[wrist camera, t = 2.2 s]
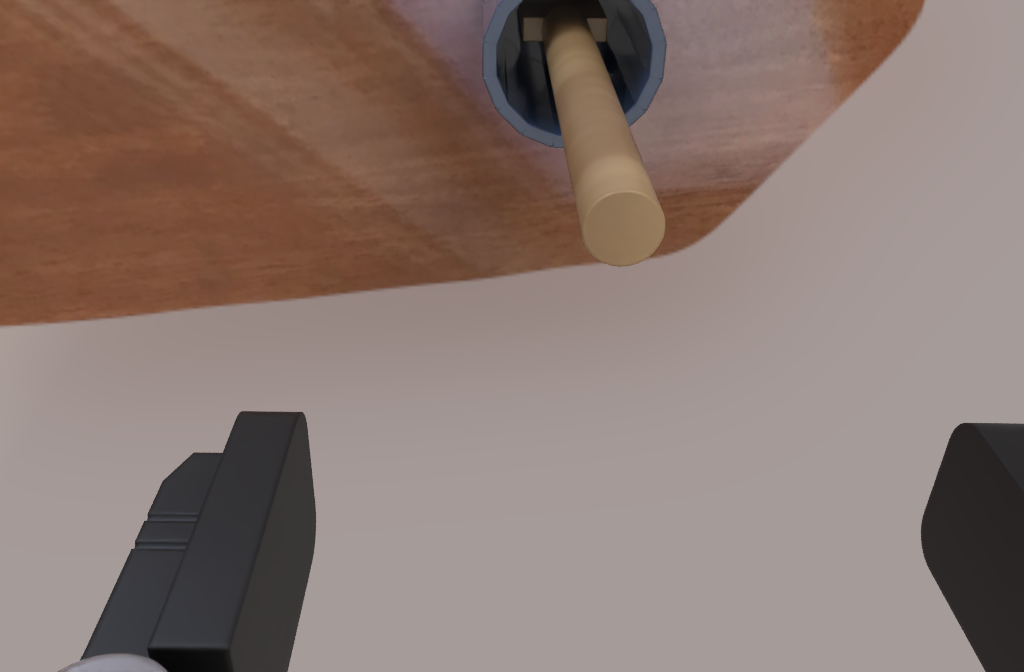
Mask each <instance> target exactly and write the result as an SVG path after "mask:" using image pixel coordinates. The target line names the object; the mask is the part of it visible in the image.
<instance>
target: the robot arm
mask: <svg viewBox="0 0 1024 672" xmlns="http://www.w3.org/2000/svg"><path fill="white" fill-rule="evenodd" d="M315 535H316V510H315V498H314V489H313V479H312V468H311V459H310V449H309V439H308V429H307V422H306V418H305V415H304V413H303V412H253V411H252V412H251V411H242V412H240V413H239V415H238V416H237V418H236V421H235V423H234V426H233V428H232V431H231V433H230V436H229V438H228V441H227V444H226V446H225V449H224V452H223V453H193V454H192V455H191V456H190V457H189V458H188V459H186V460H185V461H184V462H183V463H182V464H181V465H180V466H179V467H178V468H177V469H175V470H174V471H173V472H172V473H171V474H170V475H169V476H168V477H167V478H166V479H165V480H164V481H163V482H162V484H161V486H160V489H159V491H158V493H157V495H156V497H155V499H154V502H153V504H152V506H151V508H150V510H149V512H148V520H147V521H144V523H143V525H142V528H141V530H140V532H139V534H138V537H137V539H136V541H135V548H134V549H131V552H130V554H129V556H128V558H127V560H126V563H125V565H124V567H123V569H122V571H121V573H120V576H119V578H118V580H117V582H116V584H115V586H114V589H113V591H112V593H111V595H110V597H109V600H108V602H107V604H106V606H105V608H104V611H103V613H102V615H101V617H100V619H99V621H98V624H97V626H96V628H95V630H94V632H93V634H92V637H91V639H90V641H89V643H88V645H87V648H86V650H85V652H84V654H83V656H82V657H81V659H80V661H79V662H76V663H74V664H71V665H69V666H67V667H65V668H64V669H62V670H60V671H58V672H287V671H288V667H289V662H290V658H291V653H292V649H293V644H294V640H295V636H296V631H297V626H298V622H299V618H300V613H301V609H302V604H303V600H304V596H305V590H306V587H307V582H308V578H309V573H310V569H311V564H312V559H313V554H314V546H315ZM921 541H922V549H923V553H924V557H925V560H926V563H927V565H928V567H929V569H930V571H931V573H932V575H933V577H934V578H935V580H936V582H937V584H938V586H939V588H940V590H941V591H942V593H943V595H944V597H945V599H946V600H947V602H948V604H949V606H950V608H951V610H952V611H953V613H954V615H955V617H956V619H957V620H958V622H959V624H960V626H961V628H962V630H963V631H964V633H965V635H966V637H967V639H968V640H969V642H970V644H971V646H972V648H973V650H974V651H975V653H976V655H977V657H978V659H979V660H980V662H981V664H982V666H983V668H984V670H985V671H986V672H1024V424H1003V423H963V424H960V425H959V426H957V428H955V430H954V431H953V433H952V435H951V437H950V439H949V442H948V445H947V448H946V451H945V454H944V457H943V460H942V463H941V465H940V468H939V471H938V474H937V477H936V480H935V483H934V486H933V489H932V491H931V494H930V497H929V500H928V503H927V506H926V509H925V512H924V515H923V520H922V525H921Z"/></svg>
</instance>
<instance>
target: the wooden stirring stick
mask: <svg viewBox="0 0 1024 672" xmlns="http://www.w3.org/2000/svg"><path fill="white" fill-rule="evenodd" d="M519 16H520V24H521V31H522V39H523V41H543V44H544V49H545V54H546V59H547V64H548V69H549V74H550V79H551V84H552V89H553V94H554V99H555V104H556V109H557V114H558V119H559V124H560V129H561V134H562V139H563V144H564V149H565V154H566V159H567V164H568V169H569V174H570V179H571V184H572V189H573V194H574V199H575V203H576V208H577V213H578V218H579V223H580V228H581V233H582V238H583V242H584V244H585V246H586V248H587V250H588V251H589V252H590V254H591V255H592V256H594V257H595V258H596V259H597V260H599V261H601V262H603V263H605V264H608V265H612V266H630V265H634V264H637V263H639V262H642V261H643V260H645V259H647V258H648V257H649V256H651V255H652V254H653V253H654V252H655V251H656V249H657V248H658V247H659V245H660V244H661V242H662V239H663V237H664V233H665V217H664V214H663V211H662V209H661V206H660V204H659V201H658V198H657V196H656V193H655V191H654V188H653V186H652V183H651V181H650V178H649V176H648V173H647V171H646V168H645V165H644V163H643V160H642V158H641V155H640V153H639V150H638V148H637V145H636V143H635V140H634V138H633V135H632V133H631V130H630V127H629V125H628V122H627V120H626V117H625V115H624V112H623V110H622V107H621V105H620V102H619V100H618V97H617V95H616V92H615V89H614V87H613V84H612V82H611V79H610V77H609V74H608V72H607V69H606V67H605V64H604V62H603V59H602V57H601V54H600V51H599V49H598V46H597V44H596V42H606V36H607V21H608V19H607V17H606V15H605V12H604V10H603V8H602V6H601V4H600V2H599V0H524V1H523V2H522V3H521V4H520V5H519Z"/></svg>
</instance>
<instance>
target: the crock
mask: <svg viewBox="0 0 1024 672" xmlns="http://www.w3.org/2000/svg"><path fill="white" fill-rule="evenodd" d="M523 1H524V0H483V80H484V82H485V85H486V87H487V90H488V92H489V94H490V97H491V99H492V102H493V104H494V106H495V109H496V110H497V112H498V113H499V114H500V115H501V116H502V117H503V118H504V119H505V120H506V121H507V122H508V123H509V124H510V125H511V126H512V127H513V128H514V129H515V130H516V131H517V132H518V133H519V134H521V135H522V136H525V137H527V138H530V139H532V140H535V141H537V142H539V143H542V144H544V145H547V146H549V147H553V148H564V144H563V139H562V134H561V129H560V124H559V119H558V114H557V109H556V104H555V99H554V94H553V89H552V84H551V79H550V74H549V69H548V64H547V59H546V54H545V49H544V44H543V41H523V39H522V31H521V24H520V16H519V5H520V4H521V3H522V2H523ZM599 2H600V4H601V6H602V8H603V10H604V12H605V15H606V17H607V19H608V21H607V36H606V42H596V44H597V46H598V49H599V51H600V54H601V57H602V59H603V62H604V64H605V67H606V69H607V72H608V74H609V77H610V79H611V82H612V84H613V87H614V89H615V92H616V95H617V97H618V100H619V102H620V105H621V107H622V110H623V112H624V115H625V117H626V120H627V122H628V125H629V127H630V126H631V125H632V124H633V123H634V122H635V121H636V120H638V119H639V118H640V117H641V116H642V115H643V114H644V113H645V112H646V111H647V110H648V108H649V106H650V104H651V102H652V100H653V98H654V96H655V94H656V92H657V90H658V88H659V86H660V84H661V82H662V79H663V75H664V65H665V55H666V45H667V44H666V39H665V35H664V32H663V29H662V25H661V22H660V19H659V16H658V12H657V9H656V8H655V6H654V4H653V3H652V1H651V0H599Z"/></svg>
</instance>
